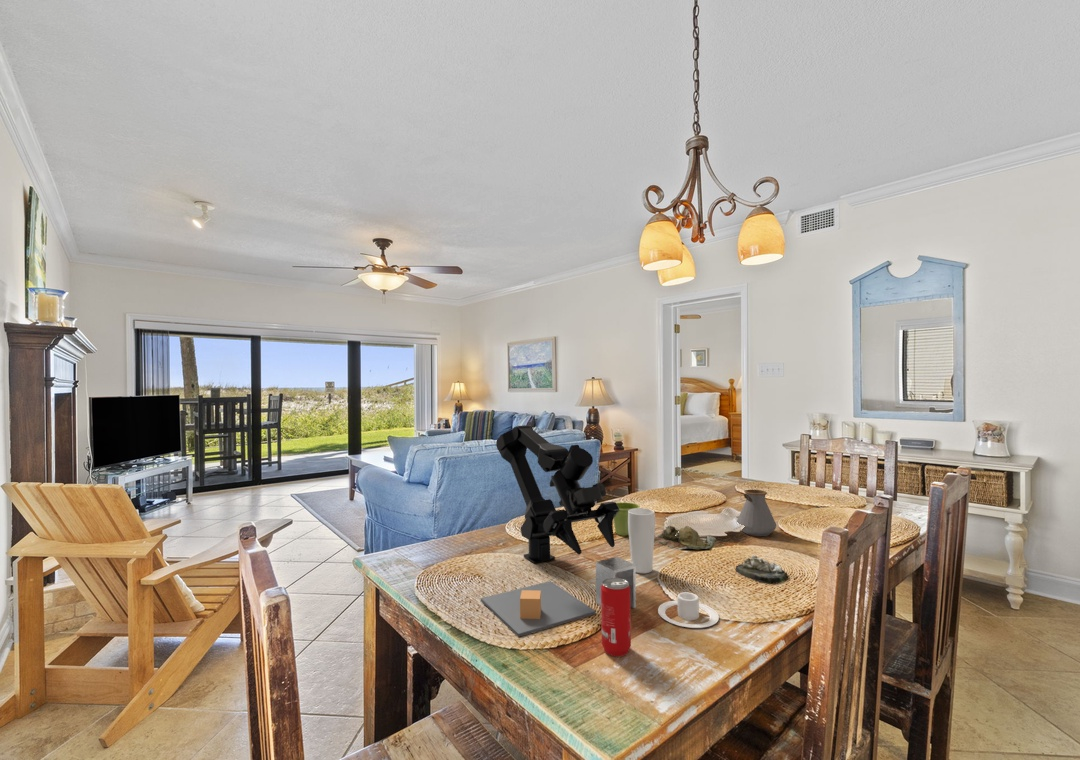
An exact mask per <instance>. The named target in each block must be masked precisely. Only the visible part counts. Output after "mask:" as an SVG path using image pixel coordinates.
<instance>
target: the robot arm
mask: <svg viewBox="0 0 1080 760" xmlns="http://www.w3.org/2000/svg"><path fill="white" fill-rule="evenodd" d="M495 443H496V444H495V445H496V449H497V451H498V452H499V455H500V456H501V458H502V459H503V460H505V461H506V462H507V463H508V464H509V465H510V466H511V469H512V471H513V474H514V477H515V480H516V481H517V484H518V487H519V490H520V492H521V495H522V498H523V500H524V503H525V505H526V508H525V513H524V519H525V520H524V522H523V523H522V524H521V527H520V533H521V536H522V537H523V538H526V540H528V553H525V554H523V558H525V559H527V561H530V562H532V563H533V564H539V563H543V562H548V561H552V560H555V559H556V557H555V556H554V555H552V554H551V537H556V538H557V539H559V540H560V541H562V542H563V543H565V544H566V545H567V546H568V547H569V548H570V549H571V550H572V551H573V552H575V553H576V554H577V555H581V554H582V549H581V545H580V544H579V541H578V539H577V537H576V535H575V533H574V531H573V525H572V523H576V522H582V521H588V520H593V519H594V521H595V522H596V523H597V525H596V526H597V529H598V531H599V532H600V533H601V535H602V536H603V537H604V539H605V540H606V542H607V544H608V545H609V547H611V548H614V547H615V546H616V545H615V536H614V528H613V524H614V519H613V518H614V517H615V516H616V515H617V513H618V512H619V510H620V509H619V507H618V505H617V504H616V503H617V502H615V501H613V500H612V501H606V502H601V503H600V505H598V507H597V508H596V509H592V508H594V507H595V505H596V503H595V502H598V501H602V500H603V497H605V496H606V495H607V491H606V487H605V485H603V483H602V482H596V483H595V484H592V486H588V487H585V486H583V487H581V485H580V482H579V481H580V480H582V479H583V477H584V476H585V475H586V473H587V472H588V470H589V469H590V467H591V466H592V464H593V461H594V460H593V455H592V454H591V453H589V451H588V450H585V449H584V448H581V447H580V446H579V444H571V445H570V447H569V449H567V448H566V447H564V446H562V445H558V444H554V443H551V442H549V441H548V440H547V439H545V438H544V437H543V436H541V435H540V434H539V433H538V432H537V431H535V430H534V429H533V427H532V425H529V424H527V425H526V424H525V425H523V424H522V425H516V426H514V427H513V428H512V429H510V430H508V431H506V432H503V433H502V434H500V435H499V437H497V439H496V442H495ZM528 450H529V451H530V452H531V453H533V454H534V456H535V457H536V458H537V464H538V465H539V466H540V468H541V469H542V471H544V472H545V473H551V472H554V474H553V475H551V479H550V481H549V487H550V488H551V487H553V488H555V490H556V492H557V494H558V496H559V499H560V500H559V502H558V503H559V507H564V509H563V508H562V509H556V507H555V505H554V501H553V500H552V499H545V498H544V497H543V495H542V493H541V490H540V488H539V485H538V483H537V481H536V478H535V475H534V473H533V471H532V469H531V466H530V464H529V462H528V459H527V456H526V455H527V454H526V453H527V451H528Z"/></svg>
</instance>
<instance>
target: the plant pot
mask: <svg viewBox="0 0 1080 760" xmlns="http://www.w3.org/2000/svg"><path fill="white" fill-rule="evenodd" d="M616 504H617V505H618V507H619V509H620V510H619V512H618V513H617V515H616V516H615V517H614V518H613V524H614V531H615V533H616V535H618V536H623V537H626V536H629V532H628V511H629V510H630V509H633V508H641V506H640V505H639V504H637V503H633V502H626V501H625V502H616Z"/></svg>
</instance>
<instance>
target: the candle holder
mask: <svg viewBox="0 0 1080 760" xmlns="http://www.w3.org/2000/svg"><path fill="white" fill-rule="evenodd" d="M699 600H700V598H699V596H698V595H697V594H695V593H692V592H687V591H686V592H685V591H684V592H679V593H678V594H677V600H669V601H665V602H664V603H663V602H662V603H661V604H660V605H659V606H658V609H657V613H658V615H659V617H660V618H662V619H663V620H664V621H666V622H668V623H670V624H672V625H675V626H679V627H683V628H684V627H685V628H691V629H704V628H708V627H712V626H714V625H716V624H717V622H718V621H719V620H720V616H719V613H718V612H717V611H716V610H715V609H714V608H712V607H710V606H708V605H706V604H704V603H701V602H700V601H699ZM673 606H677V615H678V617H680V619H683V620H687V621H695V620H697V619H699V617H700V609H701V610H703V611H704V612H706V613H707V615H708V616H709V620H708V621H706V622H703V623H697V624H696V623H695V624H689V623H684V622H678V621H677V620H674V619H672V618H670V617H668V616H667V614H666V610H667V609H669V608H671V607H673ZM718 623H719V622H718Z"/></svg>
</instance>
